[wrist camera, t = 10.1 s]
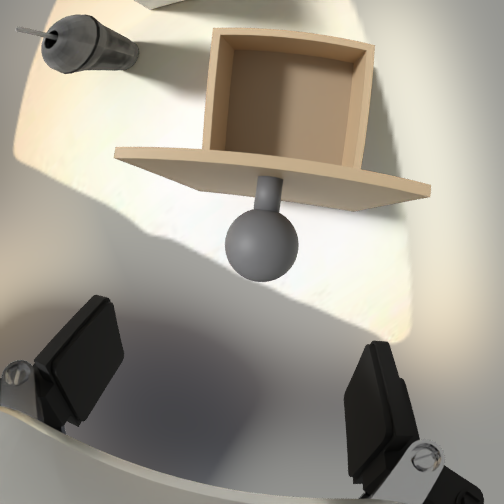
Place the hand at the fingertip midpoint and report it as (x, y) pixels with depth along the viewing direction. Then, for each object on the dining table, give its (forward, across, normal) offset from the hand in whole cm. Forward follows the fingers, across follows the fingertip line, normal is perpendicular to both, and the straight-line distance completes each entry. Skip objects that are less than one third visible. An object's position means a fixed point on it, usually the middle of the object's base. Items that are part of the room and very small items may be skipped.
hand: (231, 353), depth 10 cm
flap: (+14, 0, -3) cm, 15 cm away
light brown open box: (+30, 0, -9) cm, 32 cm away
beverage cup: (+31, +23, -17) cm, 42 cm away
